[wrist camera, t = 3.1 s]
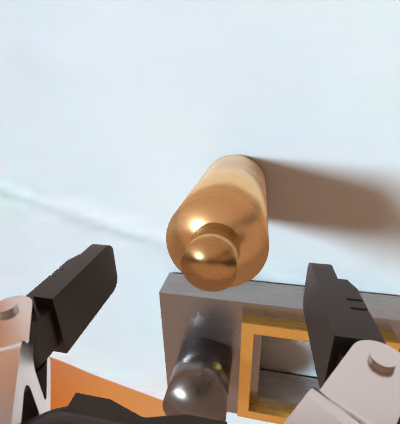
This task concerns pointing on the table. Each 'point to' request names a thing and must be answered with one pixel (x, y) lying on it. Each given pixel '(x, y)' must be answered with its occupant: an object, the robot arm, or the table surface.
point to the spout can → (222, 226)
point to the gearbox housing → (241, 347)
